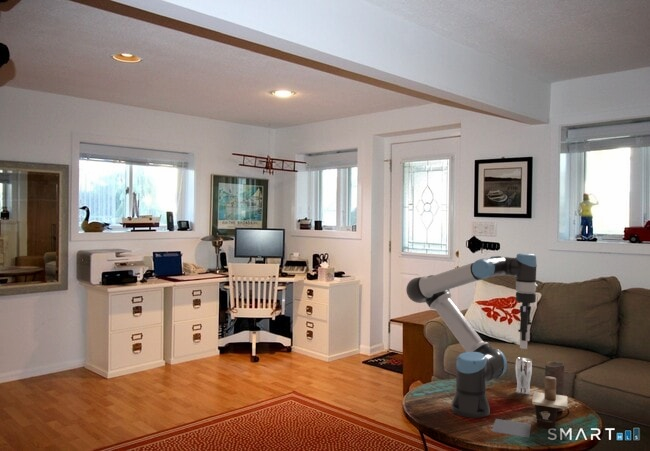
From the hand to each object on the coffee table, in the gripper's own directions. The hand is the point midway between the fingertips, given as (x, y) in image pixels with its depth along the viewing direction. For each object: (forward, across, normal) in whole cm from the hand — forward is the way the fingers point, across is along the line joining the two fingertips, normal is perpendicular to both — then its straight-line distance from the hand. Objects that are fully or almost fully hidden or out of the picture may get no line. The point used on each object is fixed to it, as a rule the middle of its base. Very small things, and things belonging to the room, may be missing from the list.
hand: (524, 344), depth 213 cm
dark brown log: (+29, +10, -11) cm, 33 cm away
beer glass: (+29, +28, +2) cm, 40 cm away
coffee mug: (+29, -9, -10) cm, 32 cm away
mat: (+29, -17, +3) cm, 33 cm away
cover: (+19, -9, -10) cm, 23 cm away
